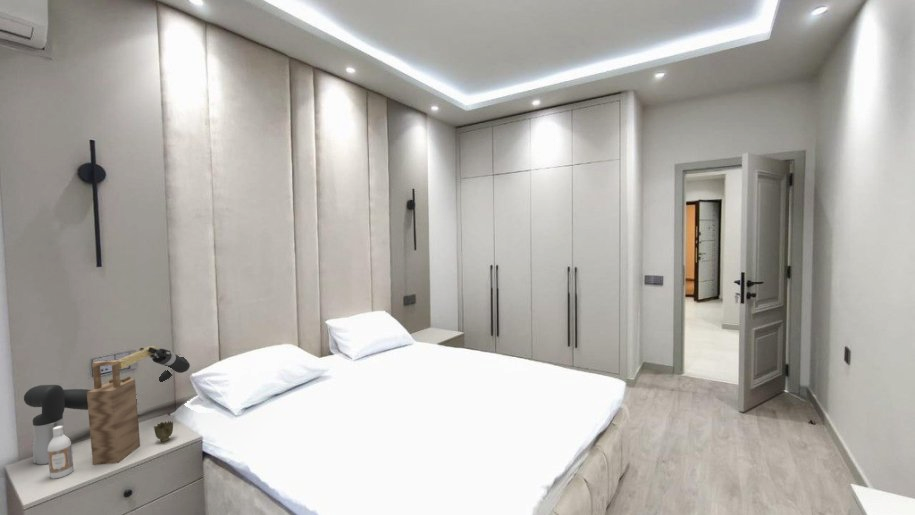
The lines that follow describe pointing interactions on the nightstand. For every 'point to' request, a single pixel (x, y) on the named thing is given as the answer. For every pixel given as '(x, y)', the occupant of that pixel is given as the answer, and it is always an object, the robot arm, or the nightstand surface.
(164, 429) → the cup
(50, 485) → the nightstand surface
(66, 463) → the bath foam
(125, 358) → the gold square bar
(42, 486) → the nightstand surface
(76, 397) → the robot arm
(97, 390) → the walnut stand
